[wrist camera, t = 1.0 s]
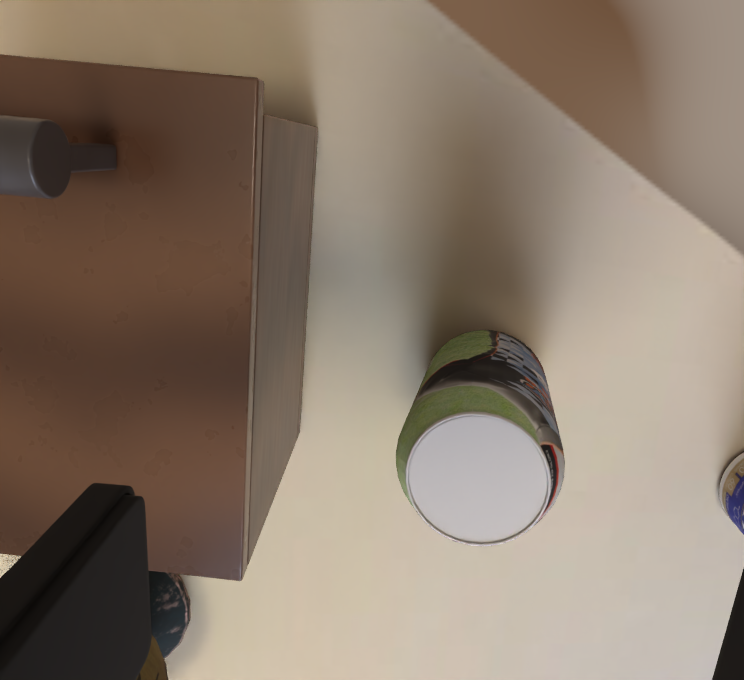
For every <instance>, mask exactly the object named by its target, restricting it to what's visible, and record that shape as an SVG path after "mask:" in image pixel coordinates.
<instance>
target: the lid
mask: <svg viewBox="0 0 744 680" xmlns="http://www.w3.org/2000/svg"><path fill="white" fill-rule="evenodd" d="M263 103H264V81H262V80H260V79H258V78H254V77H243V76H232V75H221V74H210V73H199V72H188V71H177V70H166V69H155V68H144V67H133V66H122V65H111V64H100V63H89V62H78V61H67V60H56V59H45V58H34V57H23V56H12V55H1V54H0V553H1V554H9V555H18V556H23V555H24V554H25V553H26V552H27V551H28V550H29V549H30V547H31V546H32V545H33V544H34V543H35V542H36V541H37V540H38V539H39V538H40V537H41V536H42V535H43V534H44V533H45V532H46V531H47V530H48V529H49V528H50V526H51V525H52V524H53V523H54V522H55V521H56V520H57V519H58V518H59V517H60V516H61V515H62V514H63V513H64V512H65V511H66V510H67V509H68V508H69V507H70V506H71V504H72V503H73V502H74V501H75V500H76V499H77V498H78V497H79V496H80V495H81V494H82V493H83V492H84V491H85V490H86V489H87V488H88V487H89V486H90V485H91V484H93V483H105V484H117V485H128V486H131V487H132V488H133V490H134V492H135V496H142V497H143V499H144V501H145V512H146V531H147V551H148V570H149V571H158V572H166V573H175V574H184V575H192V576H201V577H210V578H219V579H227V580H236V581H241V580H242V579H243V577H244V574H245V571H246V569H247V555H248V527H249V499H250V470H251V442H252V414H253V386H254V357H255V329H256V301H257V272H258V244H259V216H260V188H261V159H262V131H263Z"/></svg>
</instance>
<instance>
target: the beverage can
mask: <svg viewBox="0 0 744 680" xmlns="http://www.w3.org/2000/svg"><path fill="white" fill-rule="evenodd" d="M396 466H397V472H398V477H399V481H400V483H401V486H402V489H403V491H404V493H405V495H406V497H407V498H408V500H409V502H410V503H411V505H412V506H413V507H414V508H415V510H416V511H417V513H418V514H419V515H420V517H421V518H422V519H423V520H424V521H425V523H427V524H428V525H429V526H430V527H431V528H432V529H433V530H435V531H436V532H438V533H439V534H441V535H443V536H444V537H446V538H449V539H451V540H453V541H456V542H459V543H463V544H467V545H474V546H492V545H497V544H502V543H506V542H508V541H511V540H513V539H516V538H518V537H519V536H521V535H522V534H524V533H526V532H527V531H528V530H529V529H530V528H531V527H532V526H534V525H535V524H536V523H537V522H539V521H540V520H541V519H542V518H543V517H544V516H545V515H546V514H547V512H548V511H549V510H550V508H551V507H552V506H553V505H554V503H555V501H556V499H557V497H558V495H559V492H560V490H561V486H562V482H563V478H564V466H565V461H564V454H563V447H562V443H561V439H560V435H559V430H558V426H557V422H556V418H555V414H554V410H553V405H552V401H551V397H550V393H549V389H548V385H547V380H546V376H545V373H544V370H543V367H542V365H541V363H540V362H539V360H538V358H537V357H536V355H535V354H534V353H533V352H532V350H531V349H530V348H528V347H527V346H526V345H525V344H524V343H523V342H521V341H519V340H518V339H516V338H514V337H513V336H510V335H508V334H505V333H502V332H497V331H492V330H479V331H472V332H468V333H465V334H462V335H459V336H457V337H455V338H453V339H452V340H450V341H449V342H447V343H446V344H445V345H444V346H442V348H441V349H440V350H439V351H438V352H437V353H436V354H435V356H434V358H433V359H432V361H431V363H430V365H429V367H428V370H427V372H426V374H425V377H424V379H423V381H422V384H421V386H420V388H419V391H418V393H417V395H416V398H415V400H414V402H413V405H412V407H411V409H410V412H409V414H408V416H407V419H406V421H405V423H404V426H403V428H402V431H401V433H400V436H399V439H398V445H397V450H396Z"/></svg>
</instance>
